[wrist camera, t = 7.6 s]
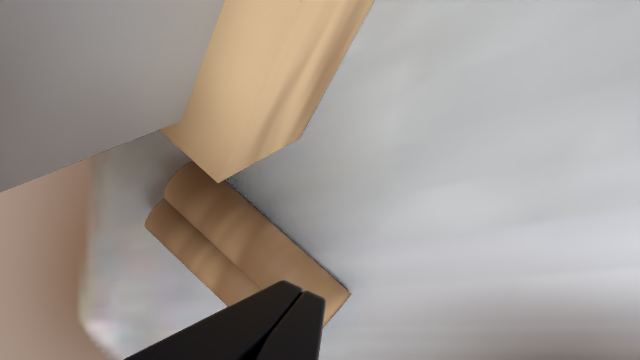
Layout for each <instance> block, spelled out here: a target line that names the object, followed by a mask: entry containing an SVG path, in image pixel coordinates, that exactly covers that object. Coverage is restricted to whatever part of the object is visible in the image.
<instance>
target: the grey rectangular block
mask: <svg viewBox="0 0 640 360" xmlns="http://www.w3.org/2000/svg"><path fill="white" fill-rule="evenodd" d="M223 3H224V0H0V192H2V191H5V190H7V189H10V188H12V187H15V186H18V185H20V184H23V183H25V182H27V181H30V180H32V179H35V178H38V177H40V176H43V175H45V174H48V173H50V172H53V171H56V170H58V169H60V168H63V167H66V166H68V165H71V164H73V163H75V162H78V161H81V160H83V159H86V158H88V157H91V156H93V155H96V154H99V153H101V152H104V151H106V150H109V149H111V148H114V147H116V146H119V145H121V144H124V143H126V142H129V141H131V140H134V139H137V138H139V137H142V136H144V135H147V134H149V133H152V132H154V131H157V130H159V129H162V128H164V127H167V126H169V125H172V124H174V123H177V122H180V121H181V119H182V117H183V114H184V111H185V108H186V106H187V103H188V100H189V97H190V94H191V92H192V89H193V86H194V83H195V81H196V78H197V75H198V72H199V70H200V67H201V64H202V61H203V59H204V56H205V53H206V50H207V47H208V45H209V42H210V39H211V36H212V34H213V31H214V28H215V25H216V23H217V20H218V17H219V14H220V12H221V9H222V6H223Z"/></svg>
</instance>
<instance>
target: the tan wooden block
mask: <svg viewBox="0 0 640 360" xmlns="http://www.w3.org/2000/svg"><path fill="white" fill-rule="evenodd" d="M373 2H374V0H224V3H223V6H222V9H221V12H220V14H219V17H218V20H217V23H216V25H215V28H214V31H213V34H212V36H211V39H210V42H209V45H208V47H207V50H206V53H205V56H204V59H203V61H202V64H201V67H200V70H199V72H198V75H197V78H196V81H195V83H194V86H193V89H192V92H191V94H190V97H189V100H188V103H187V106H186V108H185V111H184V114H183V117H182V119H181V121H180V122H177V123H174V124H172V125H169V126H167V127H164V128H162V129H159V131H160V132H161V133H163V134H164V135H165V136H166V137H167V138H168V139H169V140H170V141H171V142H173V143H174V144H175V145H176V146H177V147H178V148H179V149H180V150H181V151H183V152H184V153H185V154H186V155H187V156H188V157H189V158H190V159H192V160H193V161H194V162H195V163H196V164H197V165H198V166H199V167H200V168H202V169H203V170H204V171H205V172H206V173H207V174H208V175H209V176H210V177H212V178H213V179H214V180H215V181H216V182H217V183H219V182H221V181H223V180H225V179H227V178H229V177H230V176H232V175H234V174H236V173H238V172H239V171H241V170H243V169H245V168H247V167H248V166H250V165H252V164H254V163H256V162H258V161H259V160H261V159H263V158H265V157H267V156H268V155H270V154H272V153H274V152H276V151H277V150H279V149H281V148H283V147H285V146H287V145H288V144H290V143H292V142H294V141H296V140H297V139H299V138H300V137H301V135H302V133H303V131H304V130H305V128H306V126H307V124H308V122H309V120H310V118H311V117H312V115H313V113H314V111H315V109H316V107H317V106H318V104H319V102H320V100H321V98H322V96H323V94H324V93H325V91H326V89H327V87H328V85H329V83H330V81H331V80H332V78H333V76H334V74H335V72H336V70H337V68H338V67H339V65H340V63H341V61H342V59H343V57H344V55H345V54H346V52H347V50H348V48H349V46H350V44H351V42H352V41H353V39H354V37H355V35H356V33H357V31H358V29H359V28H360V26H361V24H362V22H363V20H364V18H365V17H366V15H367V13H368V11H369V9H370V7H371V5H372V4H373Z"/></svg>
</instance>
